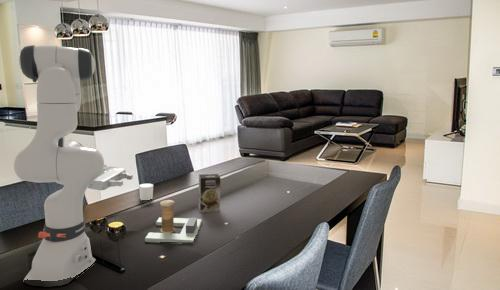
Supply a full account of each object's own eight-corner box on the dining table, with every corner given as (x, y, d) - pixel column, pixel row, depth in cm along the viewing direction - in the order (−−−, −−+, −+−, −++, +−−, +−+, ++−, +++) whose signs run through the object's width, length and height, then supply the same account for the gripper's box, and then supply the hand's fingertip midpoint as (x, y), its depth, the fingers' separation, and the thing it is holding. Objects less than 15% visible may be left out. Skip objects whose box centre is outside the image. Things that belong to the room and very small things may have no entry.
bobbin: (173, 234, 154) (172, 205, 152) (158, 233, 154) (158, 204, 152) (176, 228, 160) (176, 200, 157) (162, 228, 160) (162, 199, 157)
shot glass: (149, 202, 188) (149, 188, 186) (136, 200, 189) (136, 186, 188) (156, 197, 194) (155, 183, 193) (143, 196, 196) (142, 182, 194)
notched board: (193, 244, 147) (193, 232, 146) (145, 241, 147) (145, 230, 146) (201, 222, 166) (201, 212, 165) (159, 220, 167) (159, 210, 166)
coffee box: (200, 212, 177) (200, 178, 173) (198, 207, 183) (198, 174, 179) (220, 211, 179) (220, 177, 176) (217, 206, 185) (218, 173, 182)
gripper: (79, 175, 144) (116, 179, 143) (105, 163, 164) (137, 166, 163) (79, 192, 145) (115, 196, 144) (105, 178, 165) (137, 181, 164)
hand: (127, 180), depth 154 cm, fingers open, 8 cm apart
